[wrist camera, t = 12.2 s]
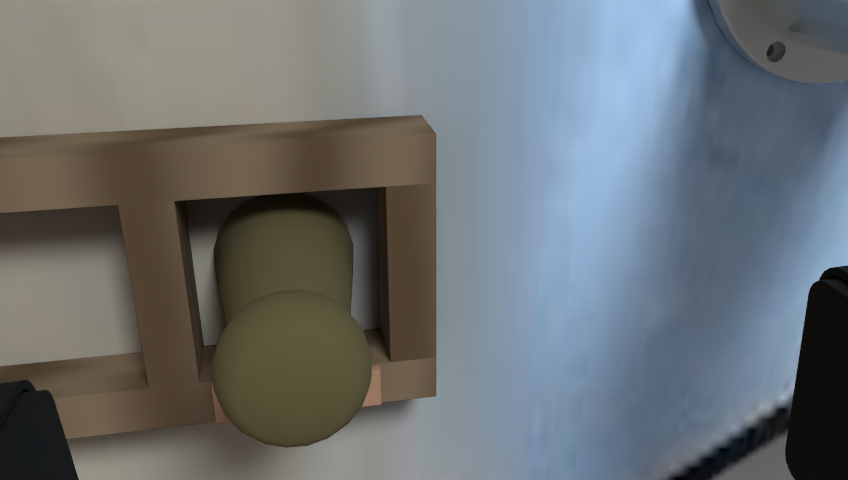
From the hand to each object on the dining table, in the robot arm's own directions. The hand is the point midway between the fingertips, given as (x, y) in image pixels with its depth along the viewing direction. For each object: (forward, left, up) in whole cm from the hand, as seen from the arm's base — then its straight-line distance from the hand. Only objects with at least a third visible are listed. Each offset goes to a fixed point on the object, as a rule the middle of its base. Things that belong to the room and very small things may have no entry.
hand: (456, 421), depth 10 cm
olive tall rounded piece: (+2, +8, -24) cm, 26 cm away
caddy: (+7, +8, -24) cm, 26 cm away
